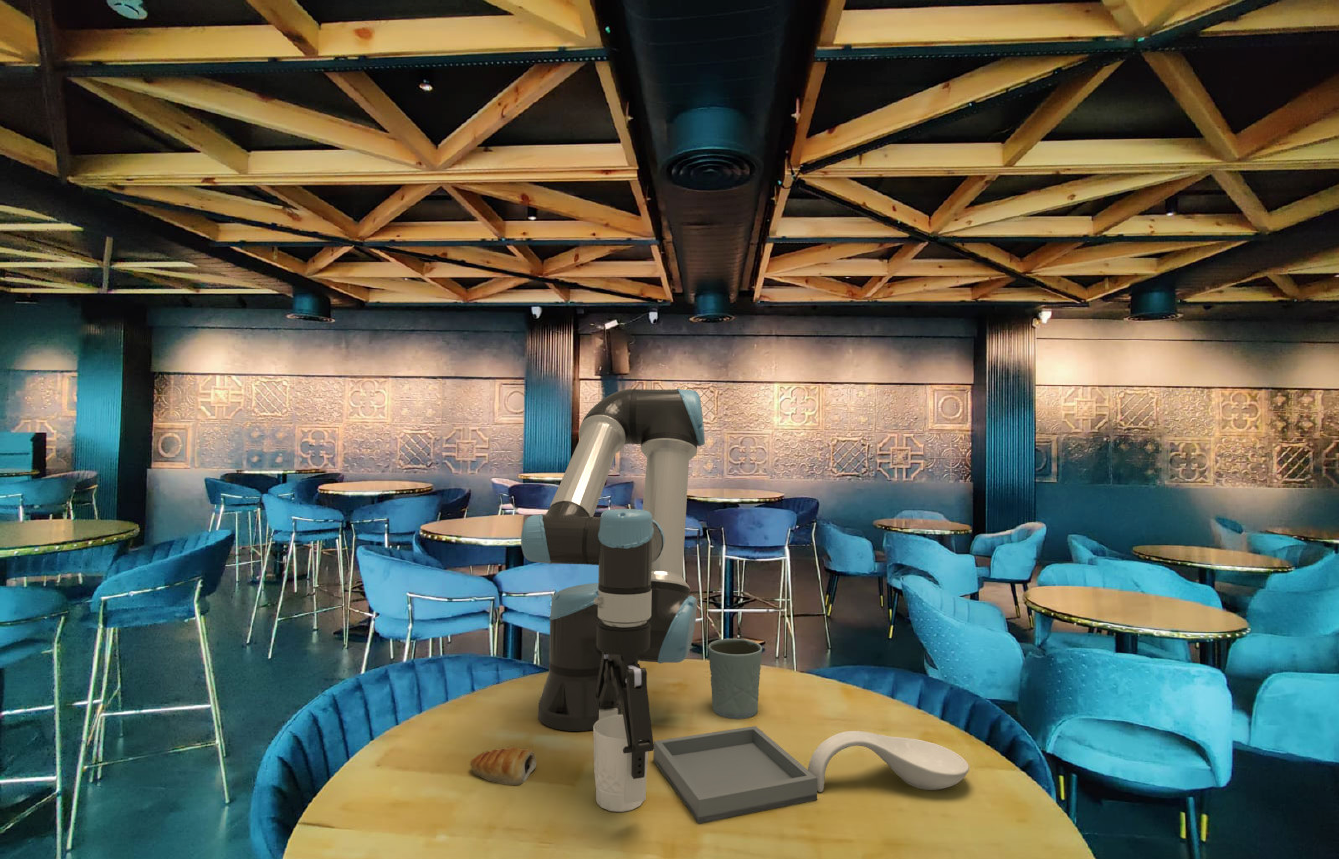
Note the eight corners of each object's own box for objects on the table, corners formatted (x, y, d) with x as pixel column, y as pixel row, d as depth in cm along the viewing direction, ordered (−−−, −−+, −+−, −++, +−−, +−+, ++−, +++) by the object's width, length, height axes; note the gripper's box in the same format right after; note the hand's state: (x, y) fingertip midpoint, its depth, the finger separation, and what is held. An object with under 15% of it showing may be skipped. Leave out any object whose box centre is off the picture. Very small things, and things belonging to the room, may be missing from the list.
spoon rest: (939, 759, 102) (939, 714, 102) (986, 799, 90) (986, 747, 90) (798, 768, 98) (798, 721, 98) (828, 810, 86) (829, 757, 87)
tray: (653, 760, 99) (653, 741, 99) (755, 744, 105) (755, 726, 105) (698, 823, 82) (699, 800, 82) (817, 799, 88) (817, 778, 89)
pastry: (461, 782, 92) (462, 755, 92) (482, 760, 99) (483, 735, 99) (522, 789, 90) (523, 761, 91) (540, 766, 97) (540, 741, 97)
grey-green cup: (769, 707, 121) (770, 643, 122) (748, 726, 113) (748, 657, 113) (721, 696, 126) (722, 635, 127) (697, 713, 118) (698, 648, 118)
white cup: (651, 786, 91) (653, 716, 92) (644, 817, 84) (645, 740, 84) (598, 782, 92) (599, 712, 93) (585, 813, 84) (587, 736, 85)
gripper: (578, 603, 99) (574, 742, 98) (623, 646, 76) (619, 829, 75) (624, 600, 102) (621, 735, 101) (681, 641, 79) (678, 818, 77)
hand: (620, 776), depth 88 cm, fingers open, 13 cm apart
